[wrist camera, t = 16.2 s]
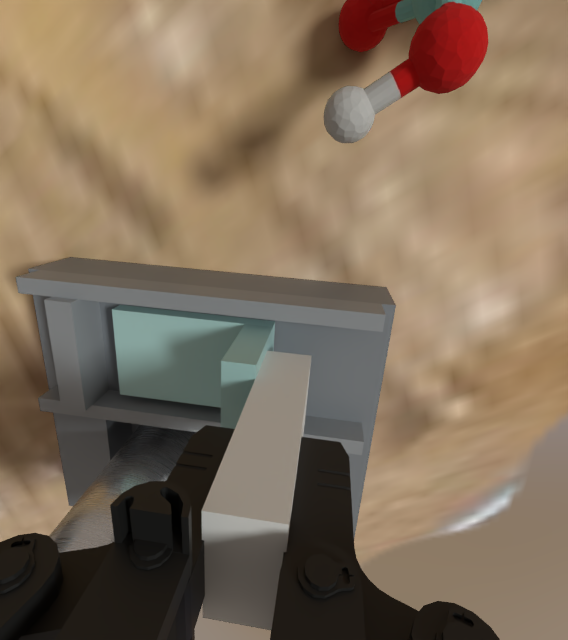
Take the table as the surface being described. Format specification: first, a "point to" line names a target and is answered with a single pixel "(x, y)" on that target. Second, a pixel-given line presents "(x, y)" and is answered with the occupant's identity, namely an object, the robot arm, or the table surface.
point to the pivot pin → (119, 485)
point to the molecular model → (419, 70)
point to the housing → (208, 298)
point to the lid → (190, 356)
